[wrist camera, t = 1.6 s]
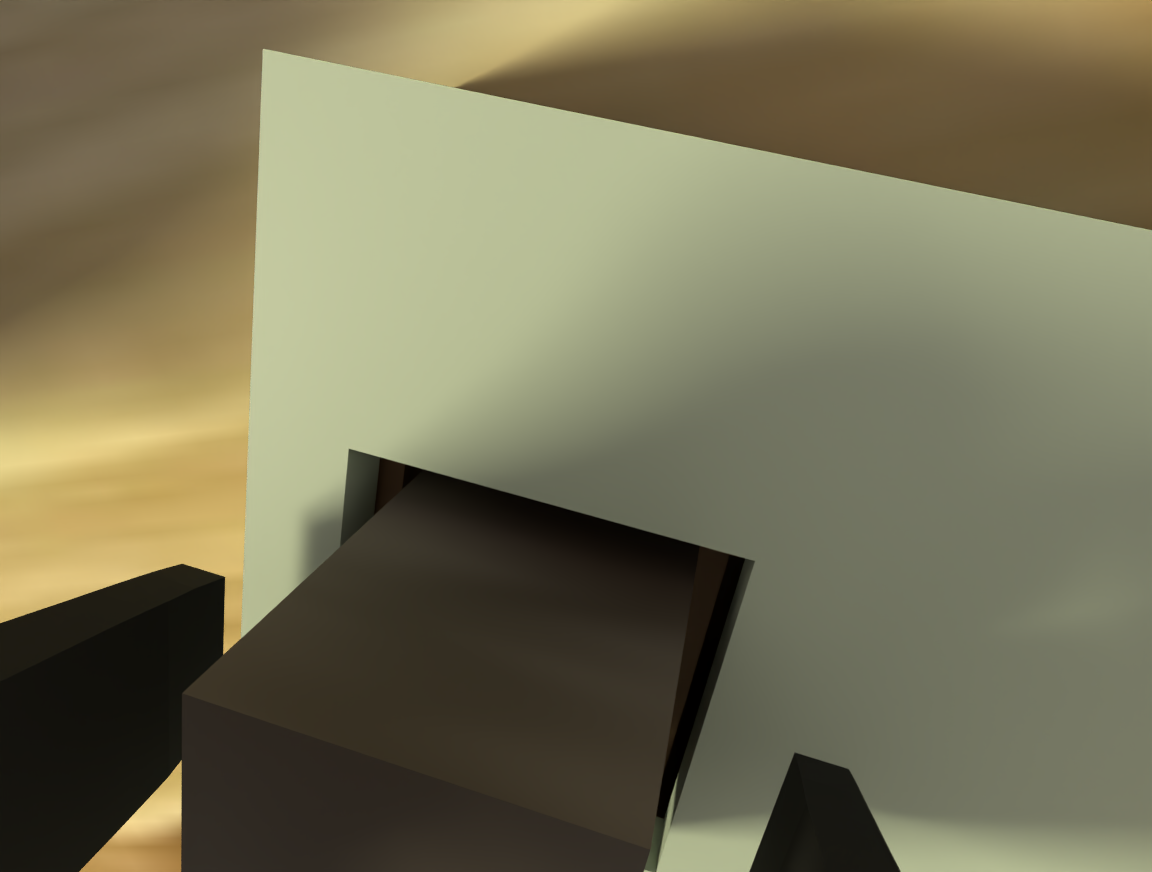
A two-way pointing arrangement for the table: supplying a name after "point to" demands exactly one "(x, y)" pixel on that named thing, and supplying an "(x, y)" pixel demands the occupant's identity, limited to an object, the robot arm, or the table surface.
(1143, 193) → the table surface
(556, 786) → the dark brown block
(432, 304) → the lid
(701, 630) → the brown wooden box
